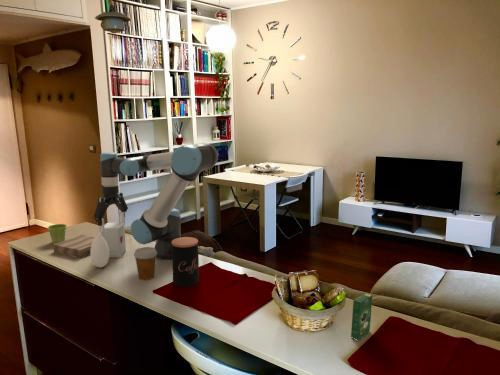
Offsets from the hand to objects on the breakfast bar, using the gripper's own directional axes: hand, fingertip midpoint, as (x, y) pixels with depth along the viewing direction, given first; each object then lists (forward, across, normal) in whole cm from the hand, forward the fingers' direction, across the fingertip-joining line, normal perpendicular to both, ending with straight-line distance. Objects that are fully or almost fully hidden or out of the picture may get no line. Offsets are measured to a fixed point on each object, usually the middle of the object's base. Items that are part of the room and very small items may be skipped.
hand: (112, 228), depth 201 cm
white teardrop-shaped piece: (+13, +15, +6) cm, 21 cm away
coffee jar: (+13, +12, +50) cm, 53 cm away
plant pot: (+14, -1, -40) cm, 42 cm away
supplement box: (+14, 0, 0) cm, 14 cm away
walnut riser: (+14, +2, -20) cm, 24 cm away
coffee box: (+12, +21, +124) cm, 126 cm away
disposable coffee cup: (+13, +15, +32) cm, 38 cm away
